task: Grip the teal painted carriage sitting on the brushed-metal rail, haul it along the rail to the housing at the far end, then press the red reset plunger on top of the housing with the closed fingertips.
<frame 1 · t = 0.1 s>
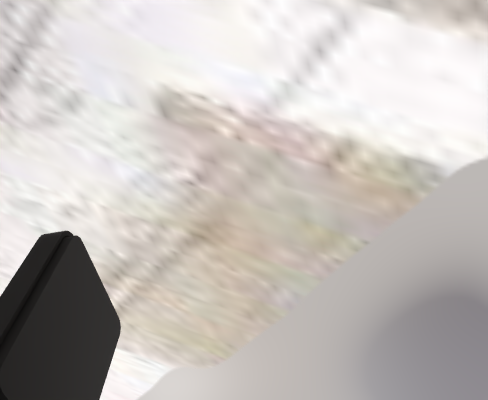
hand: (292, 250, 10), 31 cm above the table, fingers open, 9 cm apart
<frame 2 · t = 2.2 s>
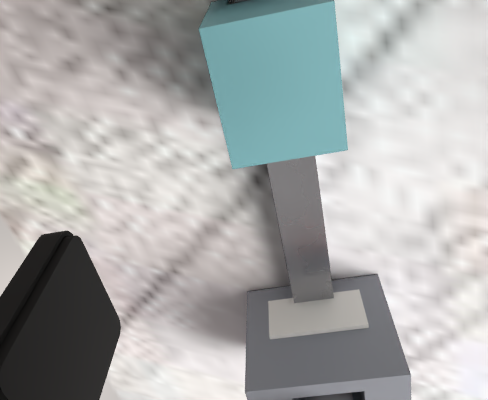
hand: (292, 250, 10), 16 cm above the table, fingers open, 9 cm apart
rail: (290, 155, 27), on the table
housing: (316, 313, 34), on the table
carriage: (275, 71, 21), point 3 cm above the table, slide at 0.0 cm
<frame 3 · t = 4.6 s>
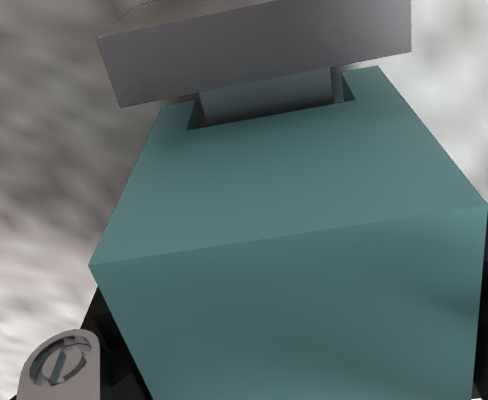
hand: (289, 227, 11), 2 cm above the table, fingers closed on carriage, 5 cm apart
rail: (312, 336, 16), on the table
carriage: (294, 267, 10), point 3 cm above the table, slide at 0.0 cm, touching gripper
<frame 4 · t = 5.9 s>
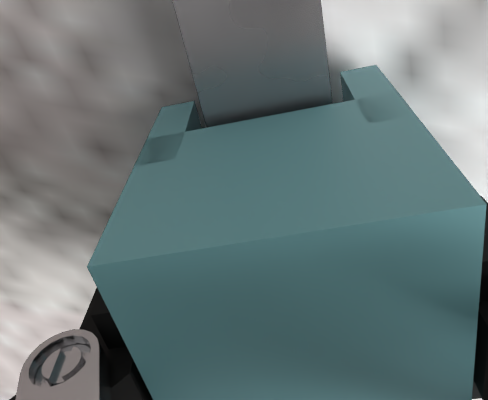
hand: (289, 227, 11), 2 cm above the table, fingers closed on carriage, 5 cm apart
rail: (290, 213, 13), on the table
carriage: (294, 268, 10), point 3 cm above the table, slide at 5.1 cm, touching gripper
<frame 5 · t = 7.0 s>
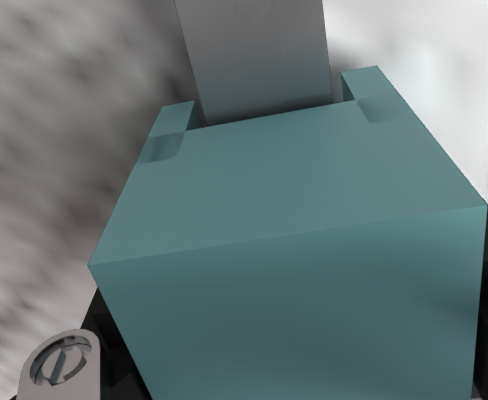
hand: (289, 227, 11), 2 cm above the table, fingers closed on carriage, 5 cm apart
rail: (254, 17, 10), on the table
carriage: (294, 267, 10), point 3 cm above the table, slide at 10.4 cm, touching gripper
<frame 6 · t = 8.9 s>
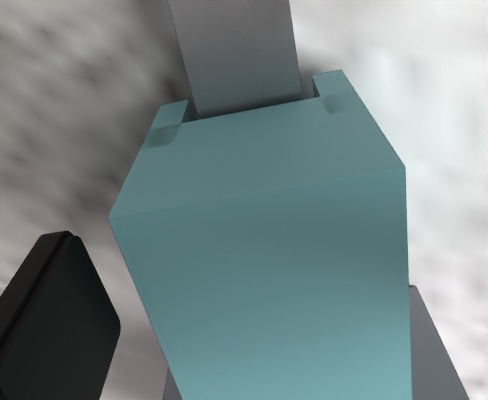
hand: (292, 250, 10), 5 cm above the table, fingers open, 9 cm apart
rail: (238, 28, 12), on the table
housing: (303, 358, 19), on the table
carriage: (272, 237, 12), point 3 cm above the table, slide at 10.5 cm
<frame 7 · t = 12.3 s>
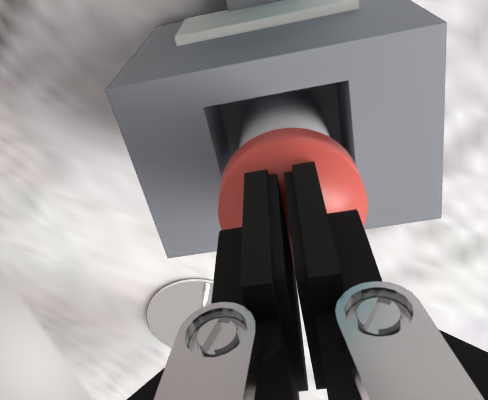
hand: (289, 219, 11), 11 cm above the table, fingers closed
plunger: (286, 164, 13), point 8 cm above the table, slide at 0.6 cm, touching gripper
wineglass: (200, 315, 29), on the table
housing: (275, 75, 20), on the table
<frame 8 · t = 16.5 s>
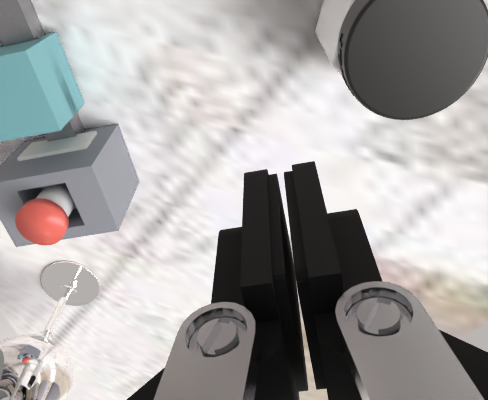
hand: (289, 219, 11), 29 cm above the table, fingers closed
jar: (370, 12, 36), on the table
plunger: (52, 207, 37), point 8 cm above the table, slide at 1.1 cm
rail: (21, 17, 37), on the table
wineglass: (72, 282, 52), on the table
housing: (83, 161, 43), on the table
carriage: (28, 86, 36), point 3 cm above the table, slide at 10.5 cm
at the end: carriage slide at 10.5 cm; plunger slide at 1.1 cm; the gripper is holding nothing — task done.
